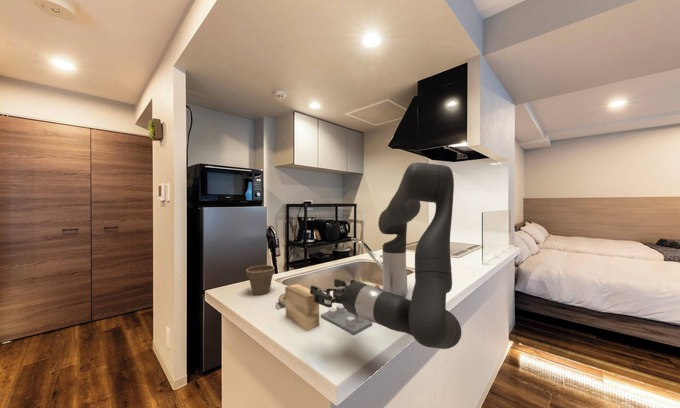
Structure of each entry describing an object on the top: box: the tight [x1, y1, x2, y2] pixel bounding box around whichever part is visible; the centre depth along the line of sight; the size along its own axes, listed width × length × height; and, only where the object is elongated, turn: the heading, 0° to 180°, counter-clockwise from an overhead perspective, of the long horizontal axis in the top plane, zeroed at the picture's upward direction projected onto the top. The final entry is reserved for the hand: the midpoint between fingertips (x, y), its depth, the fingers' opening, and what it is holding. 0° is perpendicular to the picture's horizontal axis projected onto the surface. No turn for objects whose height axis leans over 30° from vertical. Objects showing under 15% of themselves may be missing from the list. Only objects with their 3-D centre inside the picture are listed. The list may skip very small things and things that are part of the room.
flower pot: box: [245, 264, 276, 296], centre depth 104 cm, size 12×11×10 cm
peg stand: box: [320, 304, 373, 335], centre depth 79 cm, size 8×15×3 cm, turn 43°
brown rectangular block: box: [284, 283, 320, 332], centre depth 79 cm, size 4×12×10 cm, turn 43°
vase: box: [275, 293, 286, 310], centre depth 91 cm, size 5×5×6 cm
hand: (323, 285), depth 70 cm, fingers open, 8 cm apart
